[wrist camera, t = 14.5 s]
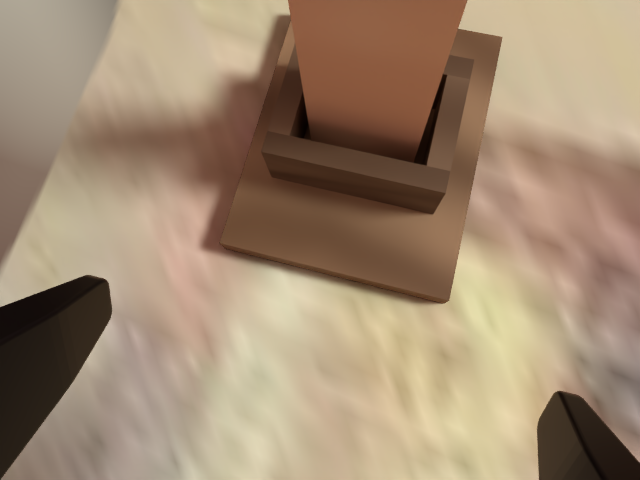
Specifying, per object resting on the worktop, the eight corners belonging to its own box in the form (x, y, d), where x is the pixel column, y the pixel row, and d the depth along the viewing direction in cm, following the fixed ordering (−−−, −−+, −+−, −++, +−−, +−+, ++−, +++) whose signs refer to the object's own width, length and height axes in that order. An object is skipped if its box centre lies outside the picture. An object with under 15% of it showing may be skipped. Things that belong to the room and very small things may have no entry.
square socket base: (444, 303, 23) (464, 291, 19) (225, 248, 24) (201, 226, 20) (495, 51, 26) (522, -6, 22) (299, 14, 27) (291, -47, 23)
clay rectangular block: (411, 168, 23) (480, -39, 11) (312, 146, 24) (275, -74, 12) (422, 124, 24) (498, -118, 12) (324, 103, 24) (302, -149, 12)
